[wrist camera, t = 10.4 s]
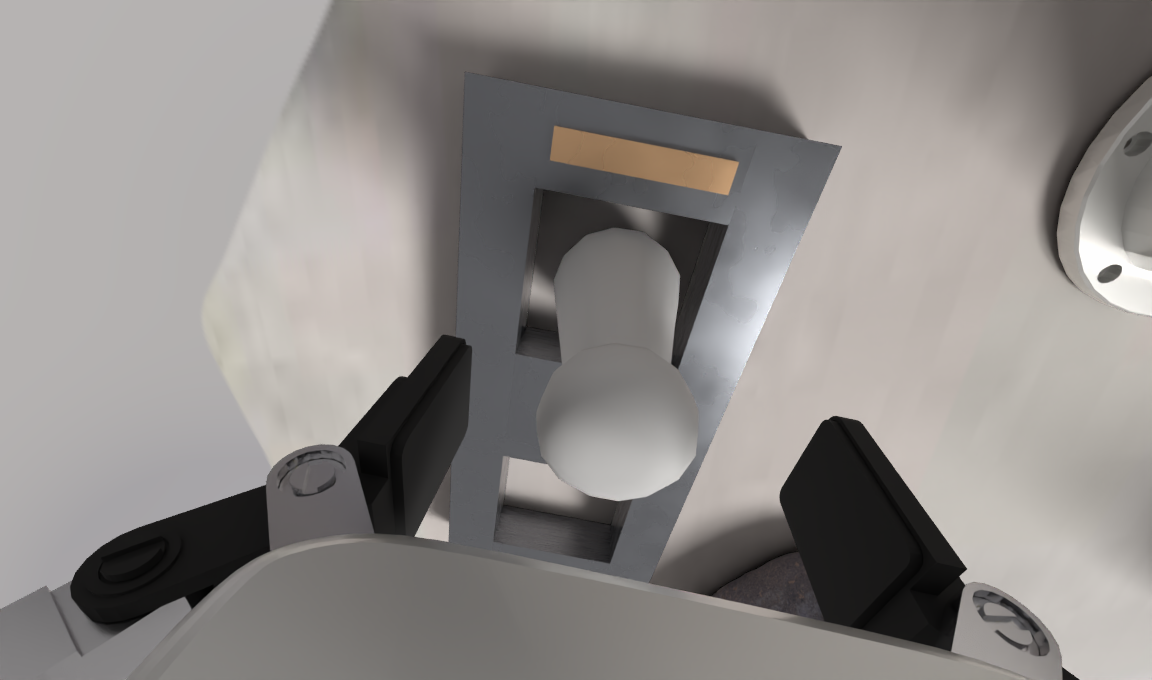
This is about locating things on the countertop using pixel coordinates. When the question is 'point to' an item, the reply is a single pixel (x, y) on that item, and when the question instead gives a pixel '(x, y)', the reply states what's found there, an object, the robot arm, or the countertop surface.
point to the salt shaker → (617, 371)
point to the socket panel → (530, 356)
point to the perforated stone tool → (776, 588)
